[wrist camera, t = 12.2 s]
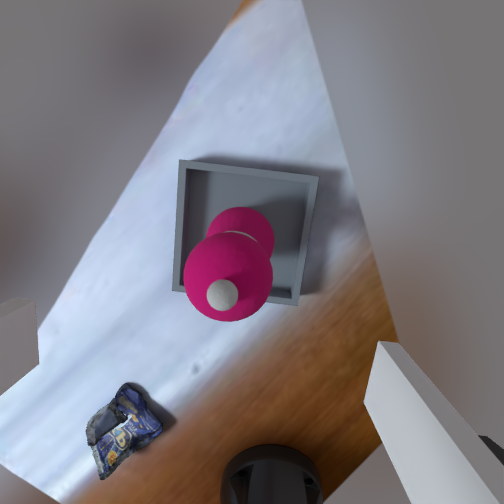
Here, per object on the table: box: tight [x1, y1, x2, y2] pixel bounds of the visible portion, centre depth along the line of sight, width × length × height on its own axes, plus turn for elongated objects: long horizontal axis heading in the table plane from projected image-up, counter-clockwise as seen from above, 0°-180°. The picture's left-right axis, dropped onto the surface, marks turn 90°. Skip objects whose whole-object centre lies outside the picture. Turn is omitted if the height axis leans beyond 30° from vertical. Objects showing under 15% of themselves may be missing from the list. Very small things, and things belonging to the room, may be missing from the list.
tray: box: [172, 160, 319, 306], centre depth 35 cm, size 15×15×3 cm
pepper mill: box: [184, 207, 275, 322], centre depth 26 cm, size 7×7×20 cm
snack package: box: [86, 383, 163, 480], centre depth 41 cm, size 12×6×12 cm
